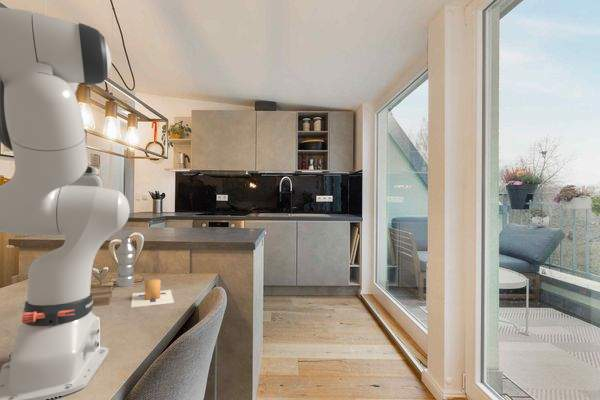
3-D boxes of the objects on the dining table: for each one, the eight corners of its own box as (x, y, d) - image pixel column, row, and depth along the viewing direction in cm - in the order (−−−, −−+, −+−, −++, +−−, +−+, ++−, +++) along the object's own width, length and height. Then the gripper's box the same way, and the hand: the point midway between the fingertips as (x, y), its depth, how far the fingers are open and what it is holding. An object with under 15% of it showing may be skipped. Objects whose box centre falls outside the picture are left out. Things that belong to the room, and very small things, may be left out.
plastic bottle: (126, 290, 122) (128, 239, 122) (111, 288, 123) (113, 238, 123) (138, 286, 128) (139, 237, 128) (123, 284, 129) (125, 236, 129)
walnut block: (108, 308, 103) (109, 296, 103) (79, 312, 99) (79, 299, 99) (111, 300, 111) (112, 289, 111) (84, 303, 107) (85, 291, 107)
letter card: (174, 305, 107) (174, 302, 107) (130, 310, 101) (130, 307, 101) (170, 292, 121) (170, 289, 121) (132, 296, 115) (132, 293, 115)
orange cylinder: (160, 299, 110) (161, 282, 110) (144, 300, 108) (145, 283, 108) (159, 295, 114) (160, 278, 114) (144, 296, 112) (145, 279, 112)
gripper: (16, 163, 88) (15, 213, 88) (102, 169, 97) (101, 213, 97) (24, 165, 93) (22, 212, 93) (104, 170, 102) (103, 212, 102)
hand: (63, 213), depth 95 cm, fingers open, 8 cm apart
